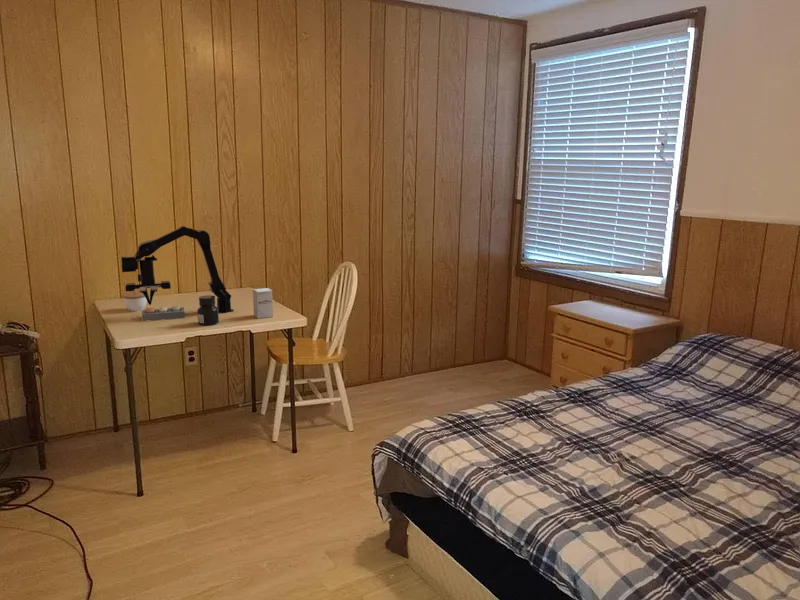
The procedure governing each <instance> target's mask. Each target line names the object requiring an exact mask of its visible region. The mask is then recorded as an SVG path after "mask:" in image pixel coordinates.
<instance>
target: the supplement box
mask: <svg viewBox="0 0 800 600" xmlns="http://www.w3.org/2000/svg"><path fill="white" fill-rule="evenodd" d="M252 301H253V302H252V303H253V306H252V307H253V316H254V315H255V316H254V317H255V318H257V319H263V318H273V317H274V313H273V312H274V310H273V309H274V308H273V307H274V305H273V303H274V302H273V290H272V289H271V288H269V287H266V288H265V287H263V288H253V289H252ZM272 316H273V317H272Z"/></svg>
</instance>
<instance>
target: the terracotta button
mask: <svg viewBox="0 0 800 600" xmlns="http://www.w3.org/2000/svg"><path fill="white" fill-rule="evenodd" d="M155 309H156V308H154V307H148V308H145V310H146V313H155Z"/></svg>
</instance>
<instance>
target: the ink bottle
mask: <svg viewBox="0 0 800 600" xmlns="http://www.w3.org/2000/svg"><path fill="white" fill-rule="evenodd" d="M198 301H199V302H198V303H199V307H198V308H197V313H196V314H197V323H198V325H200V326H214V325H218V323H219V322H220V320H219V319H220V317H219V316H220V315H219V312H218V308H217V305H216V295H211V294H210V295H207V294H206V295H200V296H198Z"/></svg>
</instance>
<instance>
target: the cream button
mask: <svg viewBox="0 0 800 600" xmlns="http://www.w3.org/2000/svg"><path fill="white" fill-rule="evenodd" d="M167 308H168V307H167V306H161V307H158V309H159V312H168V310H167Z"/></svg>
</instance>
